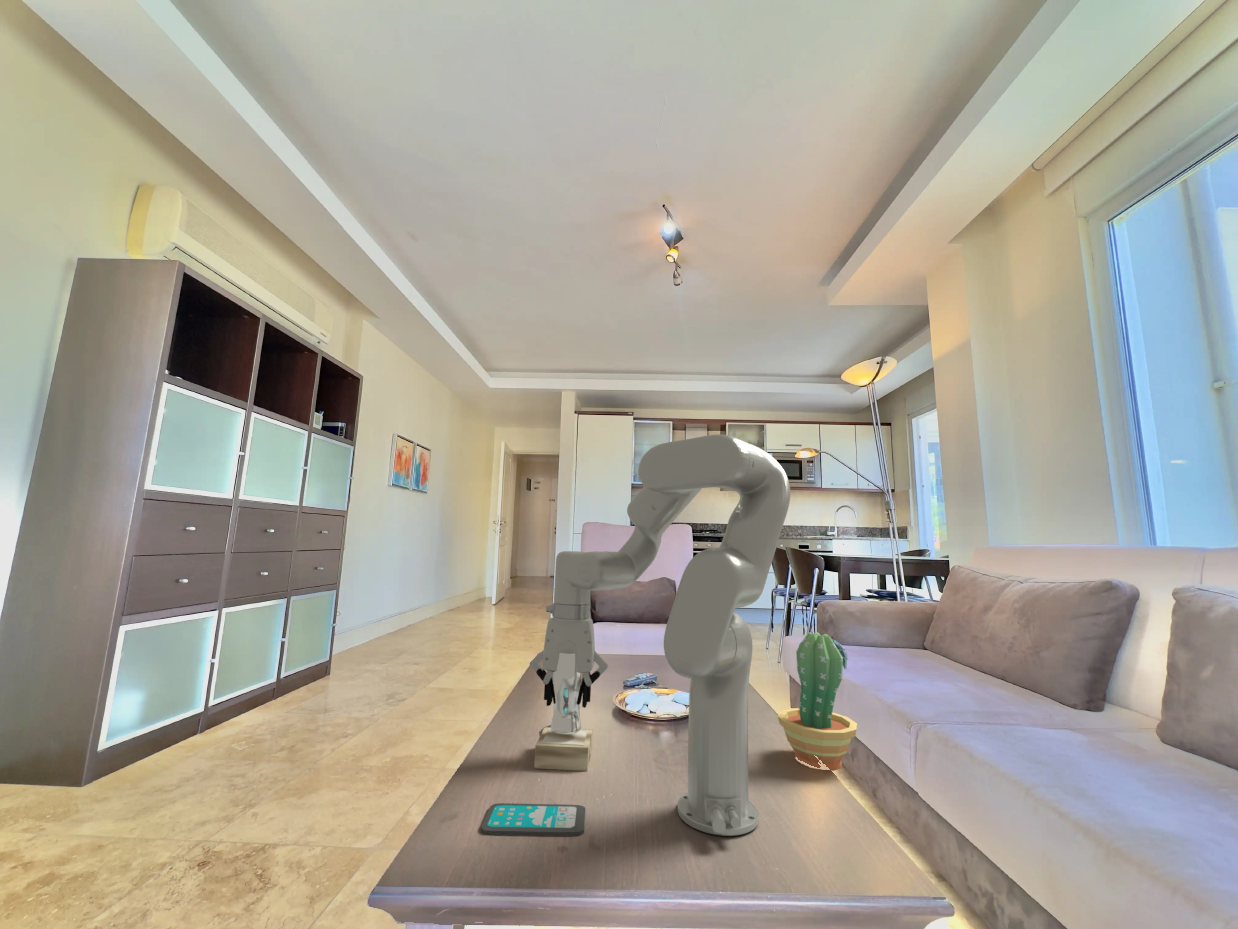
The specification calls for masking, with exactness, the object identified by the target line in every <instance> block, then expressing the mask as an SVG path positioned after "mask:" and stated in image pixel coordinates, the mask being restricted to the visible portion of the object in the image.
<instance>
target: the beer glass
mask: <svg viewBox="0 0 1238 929" xmlns="http://www.w3.org/2000/svg"><path fill="white" fill-rule="evenodd" d="M584 683H585V681H584V678H583V673H578V672H577V667H576V657H575V653H560V656H559V660H558V665H557V671H555V672H552V677H551V685H552V695H553V699H552V704H553V713H552V714H553V715H552V720H551V723H550V725H551V730H552V731H553V732H555V733H558V734H573V733H577V732H579V731H580V730H581V729H582V723H581V722H582V720H581V705H582V698H583V686H584Z"/></svg>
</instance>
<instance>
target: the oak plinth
mask: <svg viewBox="0 0 1238 929" xmlns="http://www.w3.org/2000/svg"><path fill="white" fill-rule="evenodd" d="M544 727H545V728H544ZM544 727H543V728H544V730H543V732H542V731H541V732H542V733H541V734H540V735H539V737H538V739H537V742H536V743H535V748H534V750H535V752H534V769H545V770H561V771H562V770H563V771H580V772H581V771H583V772H584V771H585V772H588V769H589V765H590V761H591V756H592V750H593V733H594V731H593V729H589V728H588V729H587V728H581V730H580V731H579V732H577V733H573V734H558V733H555V732H553V731H552V730H551V727H546V726H544Z"/></svg>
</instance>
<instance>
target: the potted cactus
mask: <svg viewBox="0 0 1238 929" xmlns="http://www.w3.org/2000/svg"><path fill="white" fill-rule="evenodd" d="M795 652H796V653H795V654H796V668H797V669H796V670H797V674H798V678H799V681H800V693H799V694H800V695H799V708H798V707H797V708H795V707H794V708H793V707H792V708H788V709H784V710H780V712H779V713H778V715H777V720H778V724H779V725H780V726H781V727H783V731H784V734H785V737H786V740H787V742H788V744H789V745H790V747H791V748H792V750H793V751H794V753H795V755H794V757H795V756H796V757H797V758H798V760H800V761H803V762H805V763H807V764H809V765H811V766H814V767H817V768H820V767H821V766H820V765H819V764H818V762H819V760H821V761H822V763H823V764H825V765H826V767H828V768H829V769H830V771H831V772H833V771H837V770H840V769H842V764H843V763H842V759H843V758H844V757H845V756H846V754H847V753H848V750H849V748H850V744H851V741H852V739H854V738H856V734H857V727H858V723H857V722H855V721H854V720H853V719H851V718H850V717H848V716H846V715H842V714H839V713H836V712H833V710H834V705H835V702H836V701H835V700H836V695H837V692H838V689H839V688H840V685H841V682H842V681H843V669H844V670H847V666H848V665H847V663H848V660H849V657H848V654H847V652H846V648H845V647H844V646H843V645H842V644H841V643H840V642H839V641H837V640H836V639H835V638H831V636H830V635H829V634H827V633H824V634H822V635H821V634H820V633H819V632H815V633H812V632H810V631H809V632H808V633H807V634H806V635H805V636H804V638H803V639H802V641H801V642H800V643H799V645H798V647H797V649H796V651H795ZM814 755H815V756H817V757H818V759H819V760H818V759H817V758H816V757H815V756H814ZM819 763H820V762H819ZM820 764H821V763H820Z"/></svg>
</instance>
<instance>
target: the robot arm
mask: <svg viewBox="0 0 1238 929" xmlns="http://www.w3.org/2000/svg"><path fill="white" fill-rule="evenodd" d="M638 477H639V478H638V479H639V480H640V483H641V484H642V485H643V486H642V488H641V489H640V490H639V491H638V493H637V494H636V495H635V496H634V498H632V500H631V501H630V502H629V504H628V505H627V508H626V512H627V516H628V518H629V520H630V521H631V523H632V524H633V525H634V529H633V532H632V534H631V536H630V537H629V538H628V540H627V541H626V542H625V544H623V545H622V547H620V549H619V550H618V551H576V550H575V551H574V550H572V551H571V550H570V551H569V550H566V551H560V552H559V553H557V555H556V558H555V575H554V590H553V591H554V593H553V603H552V604H550V605H546V608H545V613H550V614H551V616H552V617H550V618H548V621H547V626H546V630H545V635H544V636H545V637H544V642H543V643H544V645H543V650H542V651H540V653H539V654H537V655H536V656H535V657H534V658H533V659H532V660H531V661H530V663H529V665H530V667H531V668H532V670H534V672H535V673H536V675H537V676H538V678H540V680H541V681H542V683H543V685H544V688H543V689H544V690H543V700H544V701H546V706H547V707H549V706H552V704H553V695H552V685H551V677H552V672H555V671H557V665H558V660H559V656H560V653H575V657H576V667H577V672H578V673H583V678H584V681H585V683H584V686H583V694H582V699H581V707H582V708H586V707H587V705H588V703H590V702H591V696H592V695H591V694H592V693H591V692H592V685H593V684H594V683H595V682H596V681H597V680H598V679H599V678H600V676H602V675H603V674H604V673H605V671H607V669H608V667H609V665H608V663H607V662H606V661H605V660H604V659H603V658H602V657H601V656H600V655H599V653H598V652H596V649H595V644H596V643H595V628H594V622H593V619H591V618H590V616H591V615H590V614H591V594H592V593H591V592H592V591H606V590H607V591H608V590H617V589H618V590H619V589H620V590H621V589H625V588H628V587H629V586H631V585H633V584H634V583H635V582H636V581H637V580H638V579H639V578H640V577H641V576H642V575H643V574H644V573H645V572H646V570H648V568H649V567H650V566H651V565H652V564H653V562H654V560H655V559H656V557H657V554H658V552H659V549H660V546H661V543H662V537H663V534H664V533H665V532H666V531H667V529H668V528H669V527H670V526H671V525H672V524H673V522H674V521H675V520H676V519H678V517H679V515H680V514H681V513H682V512H683V511H684V510H685V509H686V508H687V507H688V505H689V504H690V503H691V502H692V501H693V500H694V498H695V497H696V496H697V495H698V494H699V492H701V490H702V489H708V488H719V489H723V490H727V491H730V492H731V491H732V492H736V493H738V494H739V499H738V500H739V501H738V503H737V504H736V506H735V507H734V509H733V511H732V513H731V514H730V516H729V518H728V522H727V525H726V528H725V531H724V535H723V537H722V539H721V543H720V545H719V547H710V548H706V549H703V550H700V552H699V551H698V553H696V554H695V555H694V556H693V557H692V558H691V560H690V561H689V562H688V563H687V565H686V567H685V568H684V571H683V574H682V576H681V578H680V581H679V584H678V588H677V591H676V594H675V597H674V601H673V604H672V607H671V610H670V613H669V617H668V619H667V622H666V626H665V630H664V634H663V635H664V636H663V652H664V656H665V659H666V661H667V664H668V665H669V667H670V668H671V669H672V670H673V671H674V672H675V673H676V674H677V675H679V676H680V677H682V678H685V679H690V684H689V691H688V692H689V693H688V694H689V695H688V743H687V744H688V746H687V749H688V750H687V751H688V758H687V762H688V763H687V793H685V794H683V795H681V797H680V798H679V799H678V801H677V812H678V816H679V817H680V819H681V820H682V821H683V822H684V823H685V824H687V825H688V826H690V827H691V828H693V829H695V830H698V831H700V832H703V833H707V834H710V835H716V836H720V837H721V836H723V837H725V836H726V837H727V836H728V837H731V836H732V837H733V836H734V837H735V836H740V835H745V834H748V833H750V832H752V831H753V830H754V829H756V828H757V826H758V824H759V819H760V818H759V817H760V816H759V814H760V813H759V811H758V809H757V807H756V806H755V804H754V803H753V802H751V801H750V800H749V682H750V673H751V664H752V658H753V637H752V633H751V630H750V627H749V625H748V624H747V623H746V621H745V620H744V619H743V618H742V617H741V615H740V614H738V613H736V612H735V609H739V608H745V607H747V606H750V605H753V604H754V603H755V602H756V601H758V600H759V599H760V597H761V595H762V594H763V592H764V588H765V585H766V581H767V579H768V575H769V573H770V568H771V565H772V563H773V560H774V556H775V552H776V550H777V548H778V547H777V546H778V543H779V539H780V536H781V532H782V529H783V527H784V523H785V521H786V517H787V514H788V511H789V507H790V501H791V485H790V481H789V478H788V475H787V473H786V471H785V470H784V468H783V467H782V465H781V464H780V463H779V462H778V461H777V459H775V458H774V457H773V456H772V455H771V454H770V453H768V452H767V451H765V450H764V449H763V448H761V447H758V446H756V445H754V444H752V443H750V442H746V441H744V440H742V439H740V438H737V437H735V436H732V435H728V434H708V435H703V436H698V437H697V436H696V437H692V438H686V439H680V440H675V441H673V440H672V441H669V442H663V443H660V444H657V445H654V446H653V447H651V448H650V449H648V450H646V452H645V453H644V454H643V456H642V457H641V459H640V461H639V464H638ZM541 661H542V666H541V665H540V663H541ZM595 664H596V665H598V668H597V669H596V670H594V671H593V669H594V666H595ZM591 671H593V673H592V674H591Z"/></svg>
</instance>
